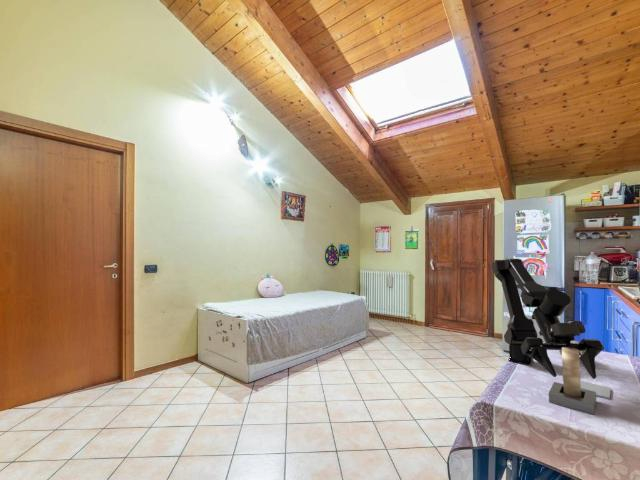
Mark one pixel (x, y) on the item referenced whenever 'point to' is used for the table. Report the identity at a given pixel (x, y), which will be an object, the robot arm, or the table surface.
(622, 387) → the table surface
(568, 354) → the peg
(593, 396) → the eye block
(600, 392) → the mat
